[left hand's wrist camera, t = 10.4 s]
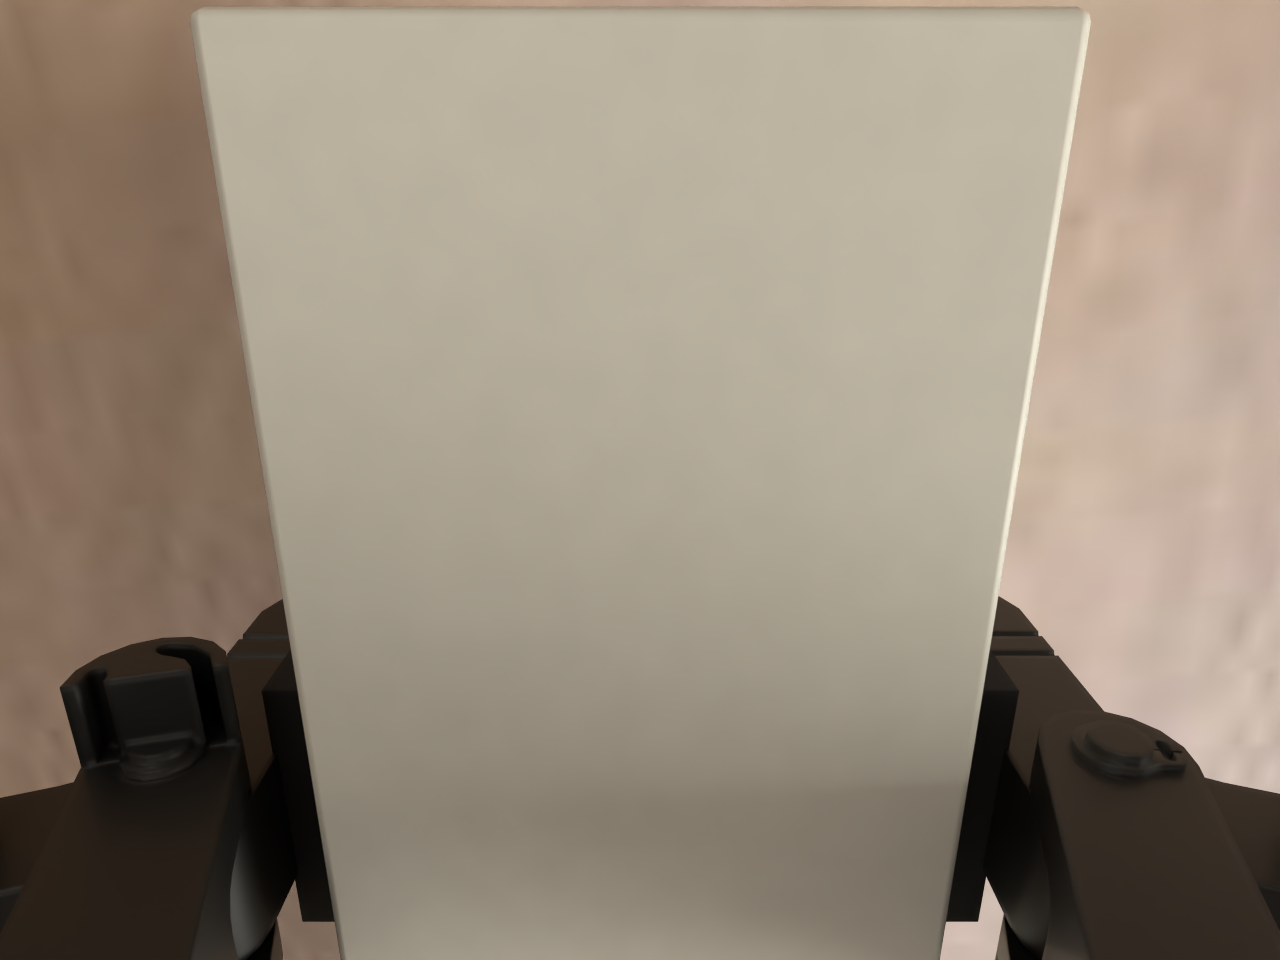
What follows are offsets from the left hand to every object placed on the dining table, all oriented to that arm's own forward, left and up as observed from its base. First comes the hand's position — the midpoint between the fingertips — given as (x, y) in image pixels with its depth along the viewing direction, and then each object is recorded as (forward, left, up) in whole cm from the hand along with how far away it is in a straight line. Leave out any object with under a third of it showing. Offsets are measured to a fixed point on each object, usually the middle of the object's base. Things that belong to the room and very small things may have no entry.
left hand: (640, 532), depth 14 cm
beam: (+26, +12, -1) cm, 29 cm away
